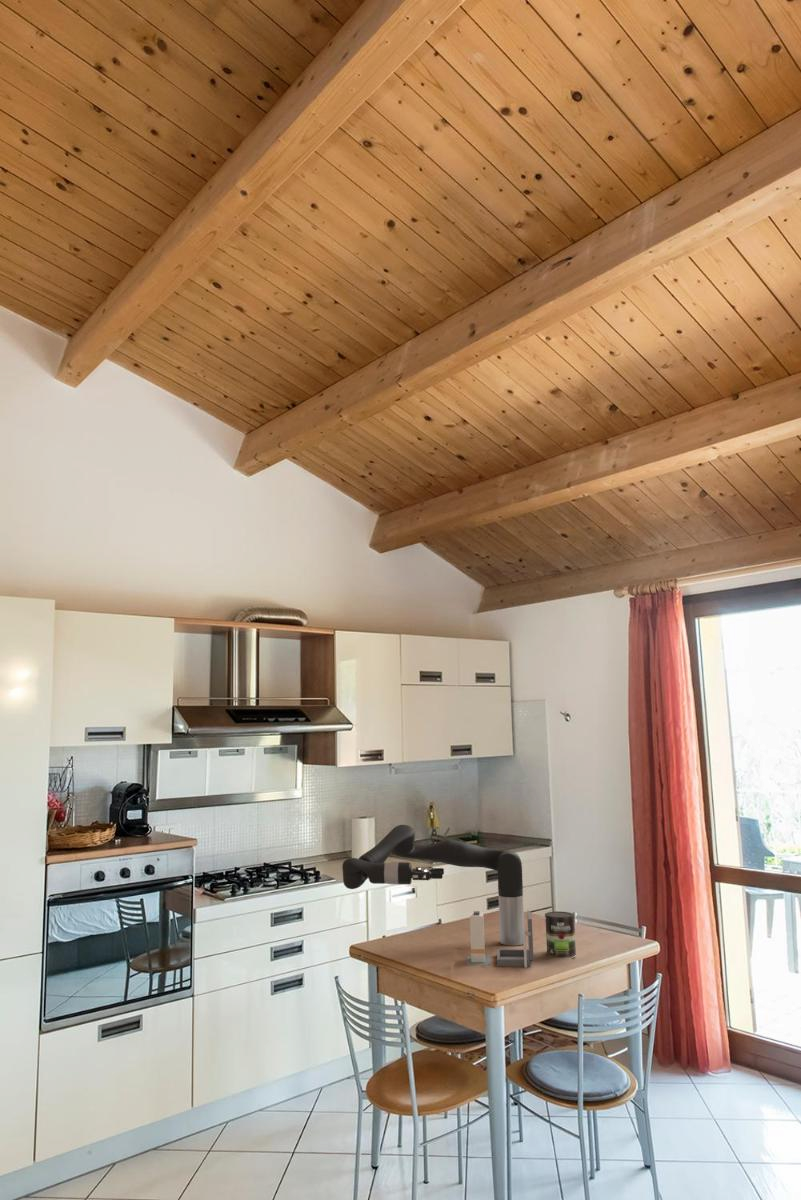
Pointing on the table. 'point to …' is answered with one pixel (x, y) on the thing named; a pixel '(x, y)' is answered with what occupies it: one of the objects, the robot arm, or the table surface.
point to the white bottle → (477, 937)
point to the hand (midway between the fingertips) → (443, 873)
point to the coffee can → (560, 934)
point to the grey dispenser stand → (518, 950)
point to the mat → (487, 962)
